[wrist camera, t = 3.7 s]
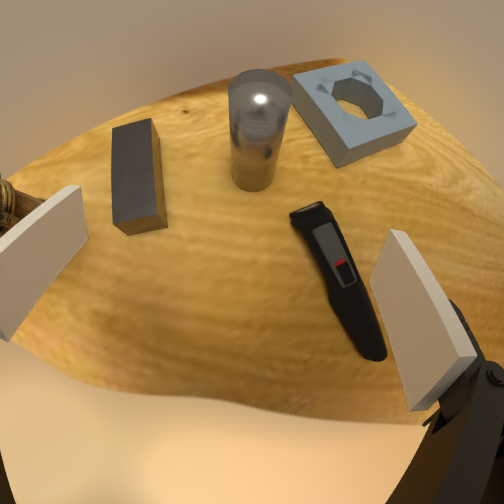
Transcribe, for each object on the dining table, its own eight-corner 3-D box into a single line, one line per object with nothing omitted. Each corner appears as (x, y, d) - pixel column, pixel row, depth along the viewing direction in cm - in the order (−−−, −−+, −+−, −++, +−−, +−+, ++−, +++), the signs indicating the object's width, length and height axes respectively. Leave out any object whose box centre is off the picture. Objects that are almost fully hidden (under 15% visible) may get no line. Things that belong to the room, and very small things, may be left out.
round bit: (280, 181, 28) (304, 102, 17) (243, 198, 28) (246, 122, 16) (261, 149, 29) (273, 63, 17) (225, 164, 28) (218, 80, 17)
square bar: (168, 228, 27) (157, 214, 23) (128, 236, 27) (112, 224, 23) (160, 139, 29) (151, 117, 25) (125, 148, 29) (112, 128, 25)
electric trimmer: (352, 365, 26) (366, 371, 22) (284, 215, 28) (290, 204, 25) (385, 346, 26) (401, 350, 23) (319, 201, 28) (328, 189, 25)
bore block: (401, 142, 30) (417, 124, 26) (336, 168, 29) (348, 148, 25) (354, 81, 32) (364, 60, 28) (287, 98, 31) (293, 75, 27)
